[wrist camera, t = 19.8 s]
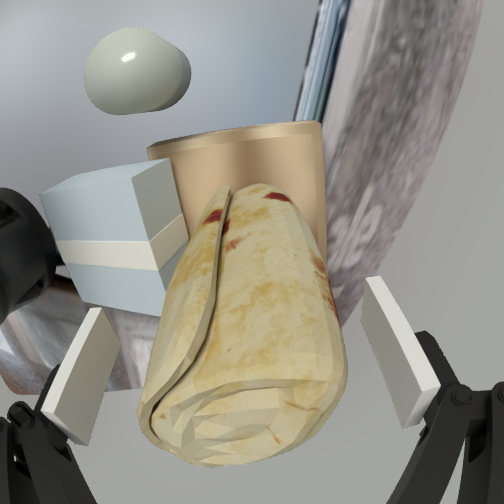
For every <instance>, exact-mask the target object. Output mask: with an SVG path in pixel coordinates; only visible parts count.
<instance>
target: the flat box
mask: <svg viewBox="0 0 504 504" xmlns="http://www.w3.org/2000/svg"><path fill="white" fill-rule="evenodd" d="M39 195H40V198H41V201H42V204H43V207H44V210H45V213H46V216H47V219H48V221H49V224H50V227H51V230H52V232H53V235H54V238H55V242H56V245H57V247H58V250H59V252H60V254H61V257H62V259H63V262H65V265H66V267H67V269H68V271H69V274H70V276H71V278H72V280H73V282H74V285H75V287H76V289H77V291H78V293H79V295H80V297H81V299H82V301H83V302H88V303H92V304H97V305H101V306H106V307H111V308H116V309H121V310H126V311H132V312H137V313H142V314H148V315H153V316H159V317H161V314H162V310H163V305H164V300H165V295H166V292H167V289H168V286H169V283H170V280H171V278H172V276H173V273H174V271H175V269H176V266H177V264H178V262H179V260H180V258H181V257H182V255H183V253H184V252H185V249H186V247H187V245H188V243H189V240H188V239H189V237H188V232H187V228H186V224H185V220H184V216H183V213H182V211H181V207H180V203H179V199H178V194H177V190H176V185H175V181H174V176H173V172H172V167H171V163H170V158H164V159H158V160H151V161H145V162H139V163H134V164H128V165H122V166H117V167H112V168H107V169H102V170H97V171H92V172H88V173H83V174H78V175H75V176H73V177H71V178H69V179H67V180H65V181H63V182H61V183H59V184H57V185H55V186H53V187H51V188H50V189H48V190H46V191H44V192H42V193H41V194H39Z"/></svg>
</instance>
